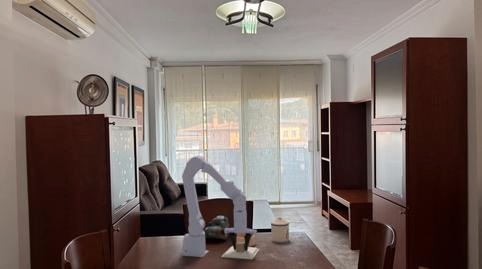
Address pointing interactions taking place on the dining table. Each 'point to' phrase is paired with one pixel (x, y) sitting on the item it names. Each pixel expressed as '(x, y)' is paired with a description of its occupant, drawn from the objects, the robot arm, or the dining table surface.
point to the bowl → (241, 239)
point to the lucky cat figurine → (217, 228)
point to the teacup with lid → (280, 230)
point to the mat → (239, 257)
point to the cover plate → (242, 255)
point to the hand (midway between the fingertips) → (240, 249)
